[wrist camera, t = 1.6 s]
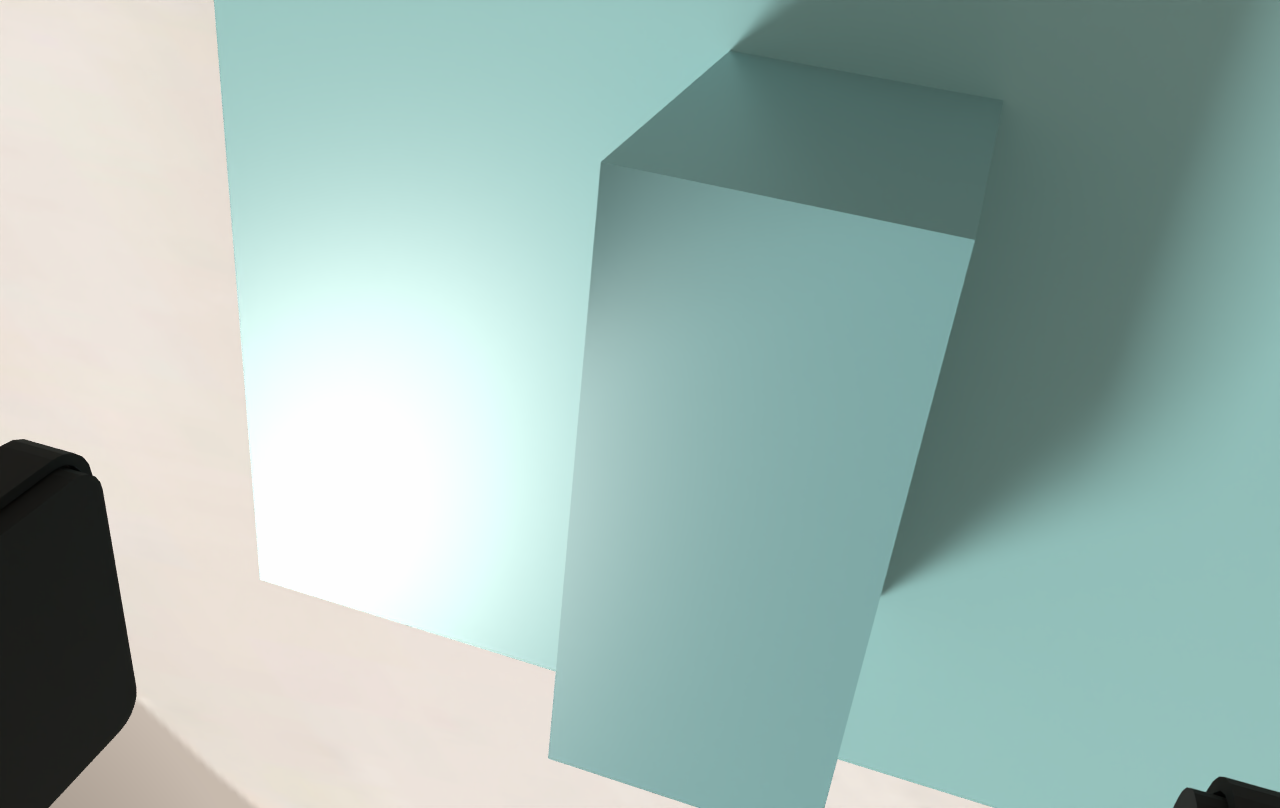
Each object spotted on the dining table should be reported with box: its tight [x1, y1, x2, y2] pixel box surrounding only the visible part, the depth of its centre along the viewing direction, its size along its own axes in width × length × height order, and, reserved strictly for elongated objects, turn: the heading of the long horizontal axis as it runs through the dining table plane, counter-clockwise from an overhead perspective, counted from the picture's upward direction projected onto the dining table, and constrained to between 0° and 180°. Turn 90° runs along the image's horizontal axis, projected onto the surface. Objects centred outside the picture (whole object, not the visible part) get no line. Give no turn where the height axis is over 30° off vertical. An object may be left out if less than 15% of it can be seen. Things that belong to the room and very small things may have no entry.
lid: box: [214, 0, 1280, 808], centre depth 16 cm, size 19×15×8 cm
